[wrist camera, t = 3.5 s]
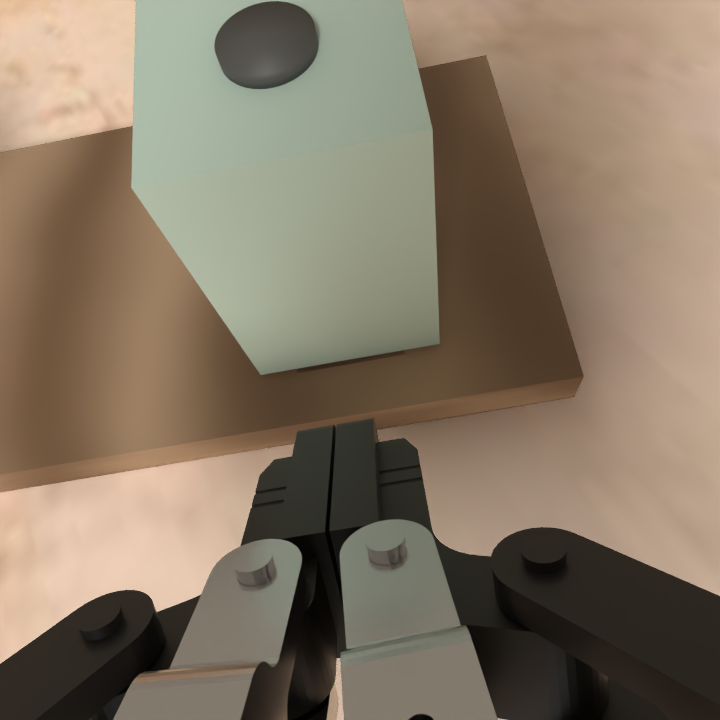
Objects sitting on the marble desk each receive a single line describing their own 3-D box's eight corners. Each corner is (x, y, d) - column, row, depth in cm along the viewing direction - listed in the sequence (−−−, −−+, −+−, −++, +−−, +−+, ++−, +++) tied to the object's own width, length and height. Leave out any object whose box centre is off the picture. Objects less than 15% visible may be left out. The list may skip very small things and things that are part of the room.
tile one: (439, 343, 18) (432, 115, 10) (260, 375, 18) (122, 175, 10) (409, 198, 20) (384, -82, 12) (250, 228, 20) (129, -26, 12)
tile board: (483, 90, 23) (486, 52, 22) (573, 396, 18) (584, 374, 17) (-236, 231, 25) (-279, 206, 24) (-337, 548, 20) (-398, 540, 18)
